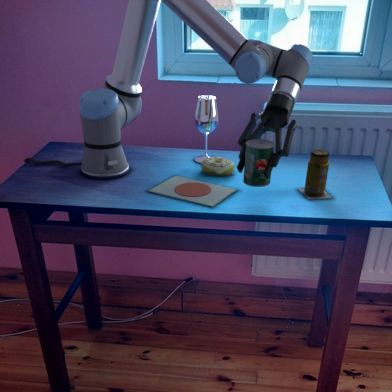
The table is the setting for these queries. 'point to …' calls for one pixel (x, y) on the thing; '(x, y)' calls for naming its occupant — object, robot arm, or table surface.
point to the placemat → (193, 191)
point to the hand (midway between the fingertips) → (252, 173)
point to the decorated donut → (217, 166)
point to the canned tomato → (257, 162)
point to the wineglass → (206, 119)
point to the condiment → (316, 175)
